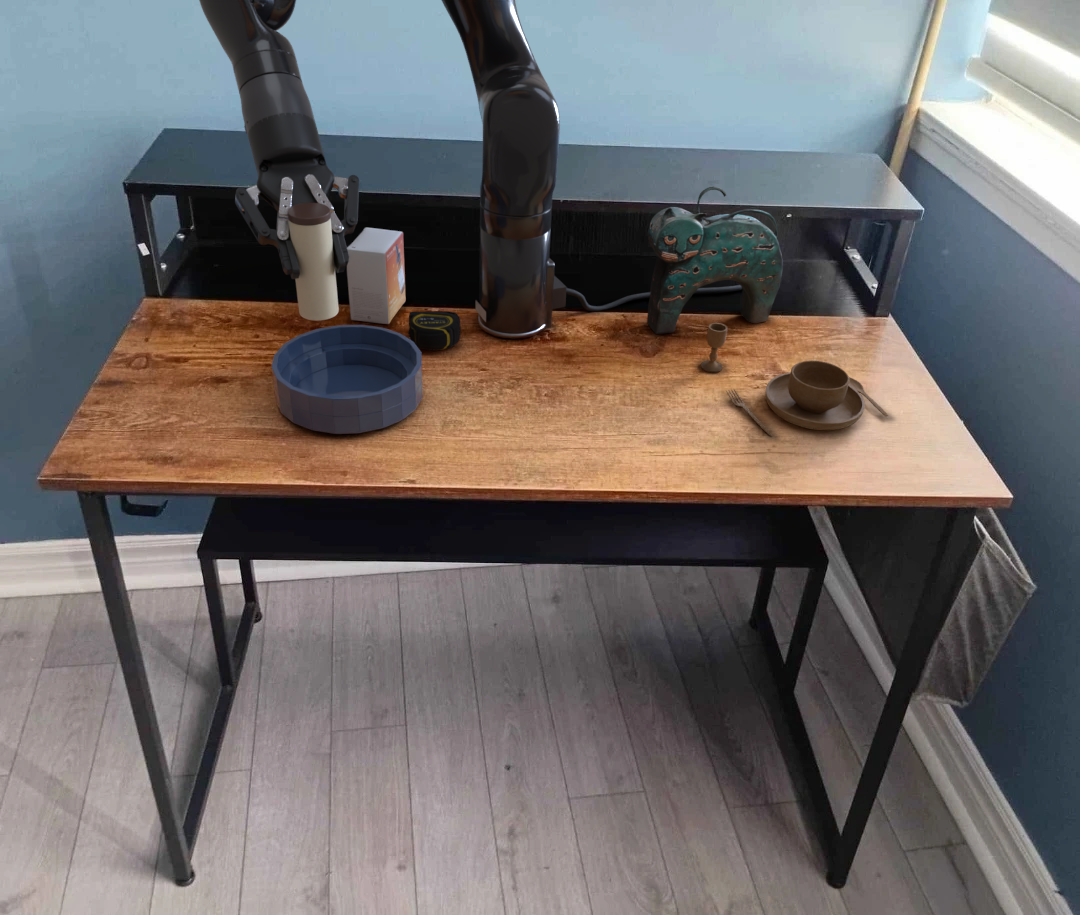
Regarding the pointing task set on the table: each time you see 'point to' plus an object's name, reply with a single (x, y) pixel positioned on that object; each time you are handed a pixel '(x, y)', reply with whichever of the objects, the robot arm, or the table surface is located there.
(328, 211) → the tube
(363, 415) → the bowl
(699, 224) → the ceramic cat
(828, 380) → the place setting
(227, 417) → the table surface
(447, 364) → the table surface
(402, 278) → the small box
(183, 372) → the table surface
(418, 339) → the tape measure
